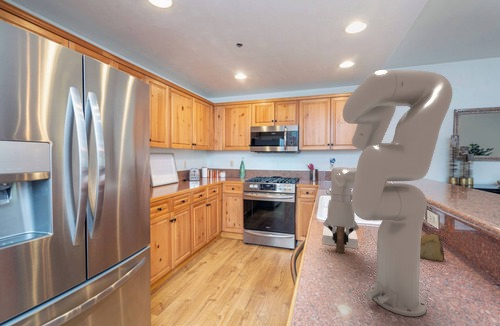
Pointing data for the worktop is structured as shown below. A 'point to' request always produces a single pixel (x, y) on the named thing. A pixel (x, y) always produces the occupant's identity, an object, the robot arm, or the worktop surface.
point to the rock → (431, 247)
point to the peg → (340, 239)
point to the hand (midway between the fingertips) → (340, 242)
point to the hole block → (329, 240)
